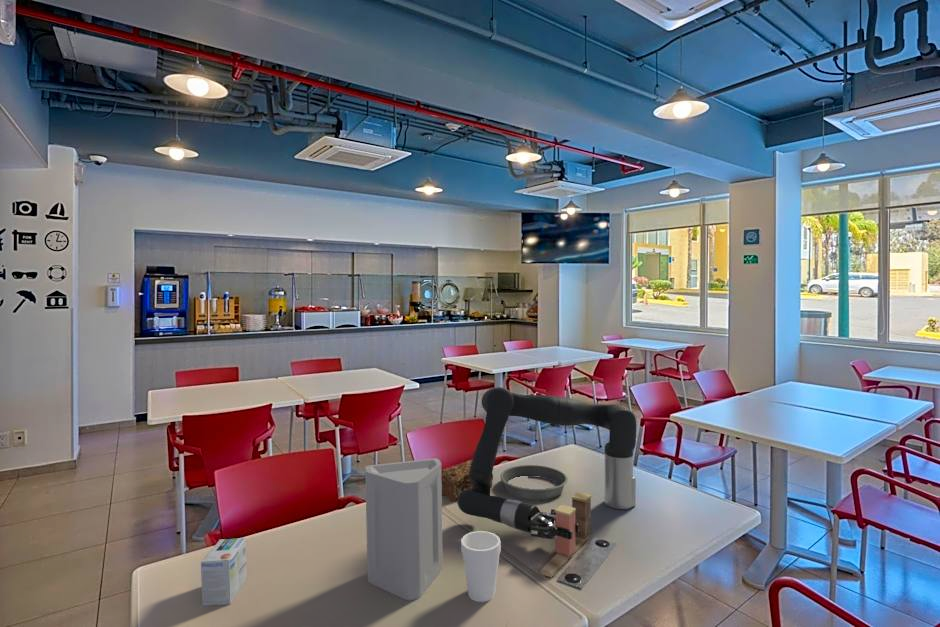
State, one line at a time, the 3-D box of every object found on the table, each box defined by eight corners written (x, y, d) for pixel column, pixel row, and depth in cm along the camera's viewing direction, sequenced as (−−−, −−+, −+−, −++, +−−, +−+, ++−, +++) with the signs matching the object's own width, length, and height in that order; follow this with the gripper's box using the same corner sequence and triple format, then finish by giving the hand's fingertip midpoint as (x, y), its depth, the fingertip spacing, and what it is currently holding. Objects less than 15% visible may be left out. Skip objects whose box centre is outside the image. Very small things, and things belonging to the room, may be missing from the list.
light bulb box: (220, 580, 124) (219, 538, 124) (248, 578, 125) (246, 536, 124) (201, 607, 113) (199, 561, 113) (231, 605, 114) (229, 559, 114)
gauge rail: (577, 533, 146) (577, 491, 145) (591, 537, 143) (591, 494, 143) (538, 573, 125) (538, 524, 125) (553, 579, 123) (553, 529, 122)
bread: (476, 481, 188) (475, 455, 187) (494, 489, 179) (494, 462, 179) (435, 493, 176) (435, 466, 175) (453, 503, 168) (453, 475, 167)
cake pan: (573, 502, 168) (573, 489, 168) (502, 502, 168) (502, 489, 168) (561, 475, 193) (561, 464, 192) (498, 475, 193) (498, 464, 193)
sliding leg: (561, 545, 136) (561, 504, 136) (575, 549, 134) (575, 508, 134) (555, 551, 133) (555, 510, 133) (569, 556, 131) (569, 513, 130)
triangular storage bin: (372, 607, 113) (370, 487, 111) (367, 572, 127) (365, 465, 126) (452, 592, 118) (451, 478, 117) (439, 560, 132) (437, 457, 131)
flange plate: (594, 538, 143) (594, 536, 143) (616, 545, 139) (616, 543, 139) (557, 580, 122) (557, 578, 122) (581, 589, 119) (581, 586, 119)
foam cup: (501, 583, 121) (501, 531, 121) (500, 607, 112) (499, 551, 112) (463, 581, 122) (463, 530, 122) (459, 605, 113) (458, 550, 113)
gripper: (506, 511, 136) (564, 528, 126) (531, 494, 147) (585, 508, 137) (507, 538, 136) (564, 557, 126) (531, 518, 148) (585, 534, 138)
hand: (575, 531), depth 132 cm, fingers closed on sliding leg, 4 cm apart
